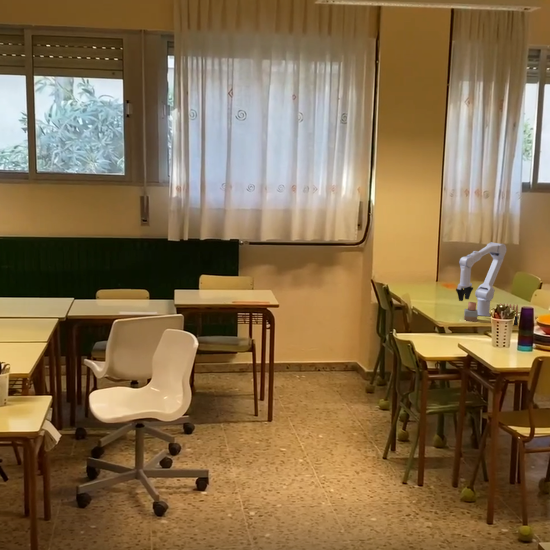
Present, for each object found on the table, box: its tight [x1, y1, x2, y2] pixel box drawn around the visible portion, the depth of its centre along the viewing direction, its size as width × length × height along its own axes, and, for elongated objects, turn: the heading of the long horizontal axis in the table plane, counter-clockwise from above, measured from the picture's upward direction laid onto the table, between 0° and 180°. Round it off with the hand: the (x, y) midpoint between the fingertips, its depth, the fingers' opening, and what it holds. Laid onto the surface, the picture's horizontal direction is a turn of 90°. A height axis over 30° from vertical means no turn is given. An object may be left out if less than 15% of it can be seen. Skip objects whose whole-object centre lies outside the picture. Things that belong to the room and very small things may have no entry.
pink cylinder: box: [467, 301, 477, 311], centre depth 401 cm, size 4×4×4 cm
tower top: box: [463, 308, 479, 318], centre depth 402 cm, size 7×7×3 cm
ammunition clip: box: [499, 303, 519, 326], centre depth 392 cm, size 11×2×12 cm, turn 79°
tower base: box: [463, 314, 478, 323], centre depth 402 cm, size 7×7×3 cm
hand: (463, 300), depth 407 cm, fingers open, 7 cm apart
